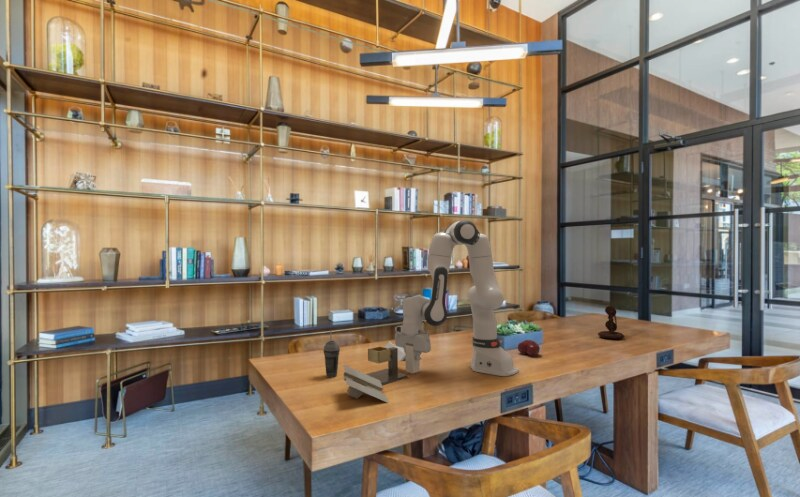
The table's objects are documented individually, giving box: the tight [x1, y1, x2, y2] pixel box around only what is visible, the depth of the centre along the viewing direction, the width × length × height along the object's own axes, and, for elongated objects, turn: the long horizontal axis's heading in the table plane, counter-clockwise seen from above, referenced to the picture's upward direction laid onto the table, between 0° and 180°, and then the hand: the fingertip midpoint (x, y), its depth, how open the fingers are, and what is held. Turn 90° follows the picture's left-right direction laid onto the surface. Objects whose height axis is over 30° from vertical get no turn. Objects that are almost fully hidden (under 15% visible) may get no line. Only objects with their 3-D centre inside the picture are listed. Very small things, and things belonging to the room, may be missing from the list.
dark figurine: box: [597, 305, 625, 341], centre depth 254 cm, size 15×15×20 cm
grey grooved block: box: [343, 364, 389, 404], centre depth 152 cm, size 19×10×17 cm
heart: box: [517, 339, 541, 357], centre depth 213 cm, size 12×8×10 cm
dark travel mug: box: [322, 330, 340, 379], centre depth 177 cm, size 7×7×20 cm
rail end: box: [405, 343, 421, 374], centre depth 184 cm, size 5×5×13 cm
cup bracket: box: [365, 346, 409, 386], centre depth 175 cm, size 14×16×13 cm
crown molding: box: [384, 341, 422, 362], centre depth 219 cm, size 31×12×4 cm, turn 17°
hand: (412, 359), depth 184 cm, fingers closed on rail end, 4 cm apart
